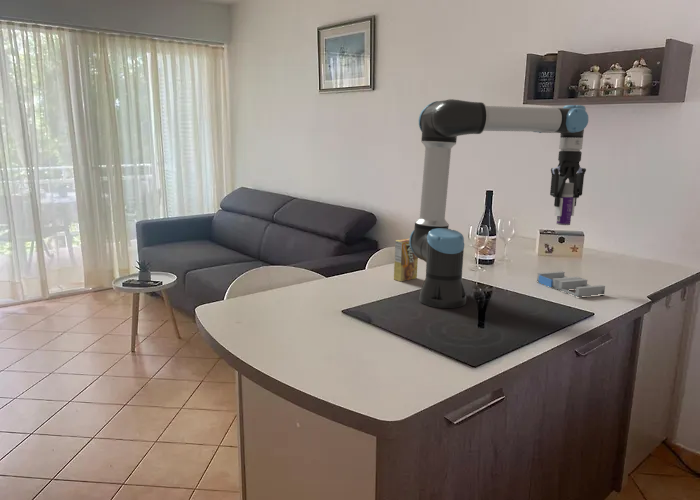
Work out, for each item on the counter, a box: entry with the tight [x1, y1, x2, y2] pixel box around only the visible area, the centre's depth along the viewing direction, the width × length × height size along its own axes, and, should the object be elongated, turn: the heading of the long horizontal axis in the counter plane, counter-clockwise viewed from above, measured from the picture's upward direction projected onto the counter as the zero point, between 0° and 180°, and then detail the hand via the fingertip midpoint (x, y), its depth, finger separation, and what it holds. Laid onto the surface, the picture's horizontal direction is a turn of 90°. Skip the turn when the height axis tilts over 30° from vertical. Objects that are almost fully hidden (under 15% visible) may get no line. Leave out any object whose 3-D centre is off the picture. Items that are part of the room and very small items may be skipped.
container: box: [556, 182, 574, 226], centre depth 193 cm, size 5×5×15 cm
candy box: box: [393, 237, 419, 282], centre depth 202 cm, size 9×4×15 cm, turn 129°
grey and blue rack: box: [536, 270, 606, 297], centre depth 193 cm, size 12×22×4 cm, turn 18°
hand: (564, 215), depth 194 cm, fingers closed on container, 5 cm apart
